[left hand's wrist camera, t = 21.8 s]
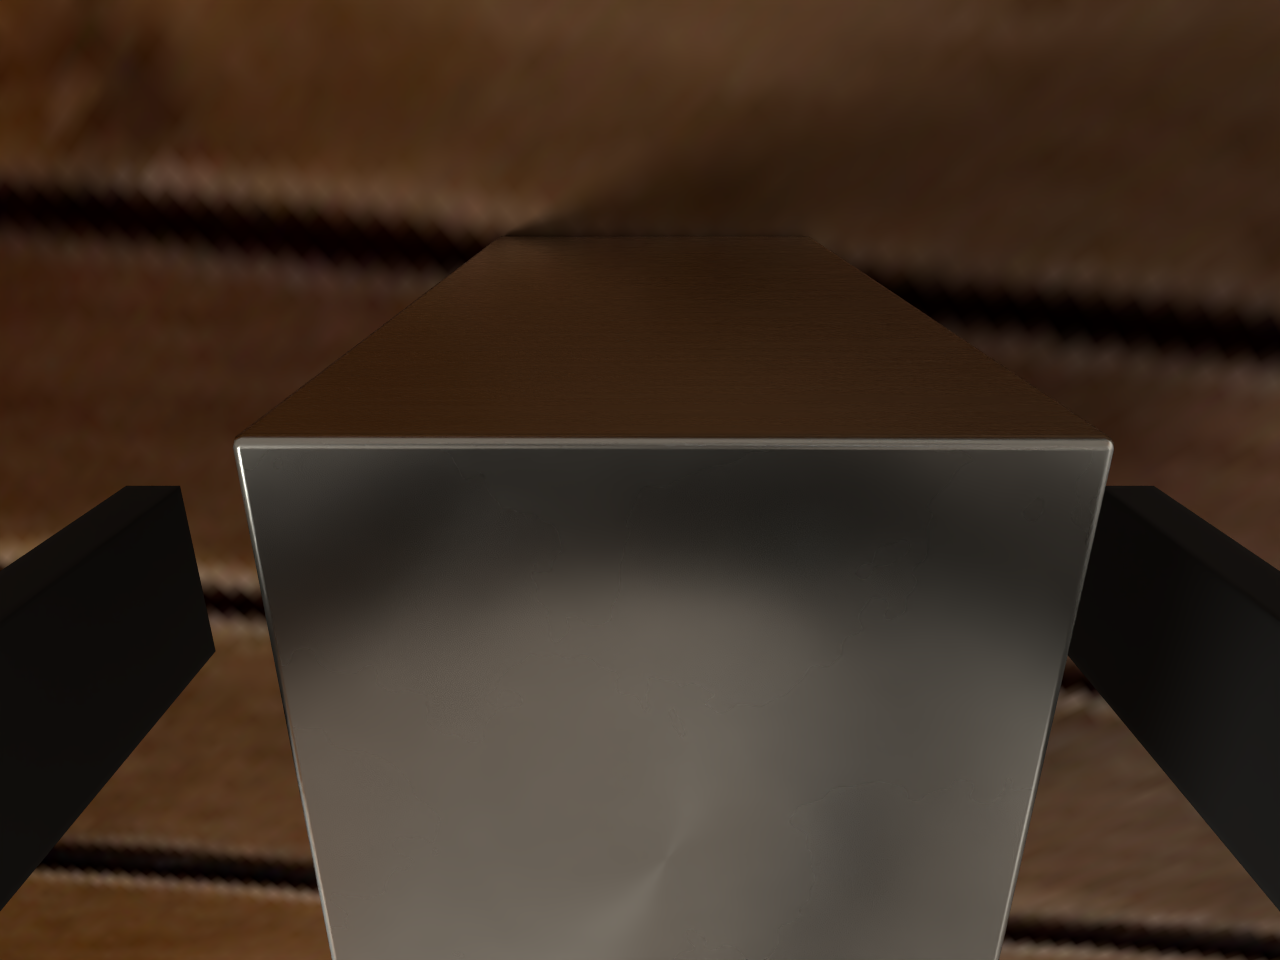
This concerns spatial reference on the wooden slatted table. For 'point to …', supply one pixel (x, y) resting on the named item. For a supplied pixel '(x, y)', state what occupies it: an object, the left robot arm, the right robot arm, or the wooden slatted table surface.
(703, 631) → the block
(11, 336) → the wooden slatted table surface
